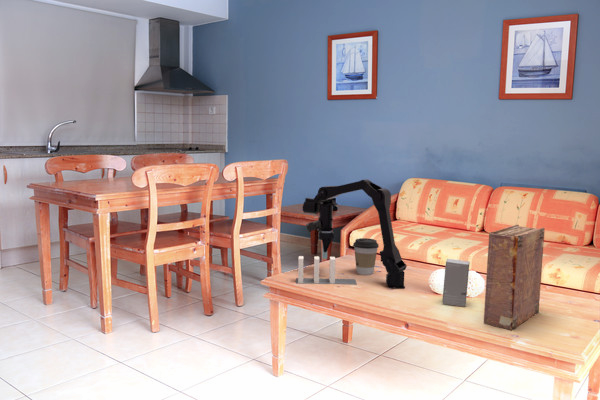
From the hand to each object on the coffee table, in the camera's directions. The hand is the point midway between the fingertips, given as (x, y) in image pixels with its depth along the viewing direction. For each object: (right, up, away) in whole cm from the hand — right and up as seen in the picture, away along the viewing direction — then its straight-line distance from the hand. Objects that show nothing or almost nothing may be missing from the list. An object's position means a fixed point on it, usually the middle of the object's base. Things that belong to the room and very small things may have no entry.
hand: (324, 250), depth 229 cm
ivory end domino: (-11, -12, -12) cm, 20 cm away
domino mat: (0, -12, -11) cm, 16 cm away
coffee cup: (+18, -11, +4) cm, 21 cm away
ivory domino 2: (+2, -12, -12) cm, 17 cm away
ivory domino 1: (-4, -12, -12) cm, 17 cm away
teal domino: (0, -3, 0) cm, 3 cm away
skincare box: (+46, -16, -37) cm, 61 cm away
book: (+61, -18, -52) cm, 82 cm away
